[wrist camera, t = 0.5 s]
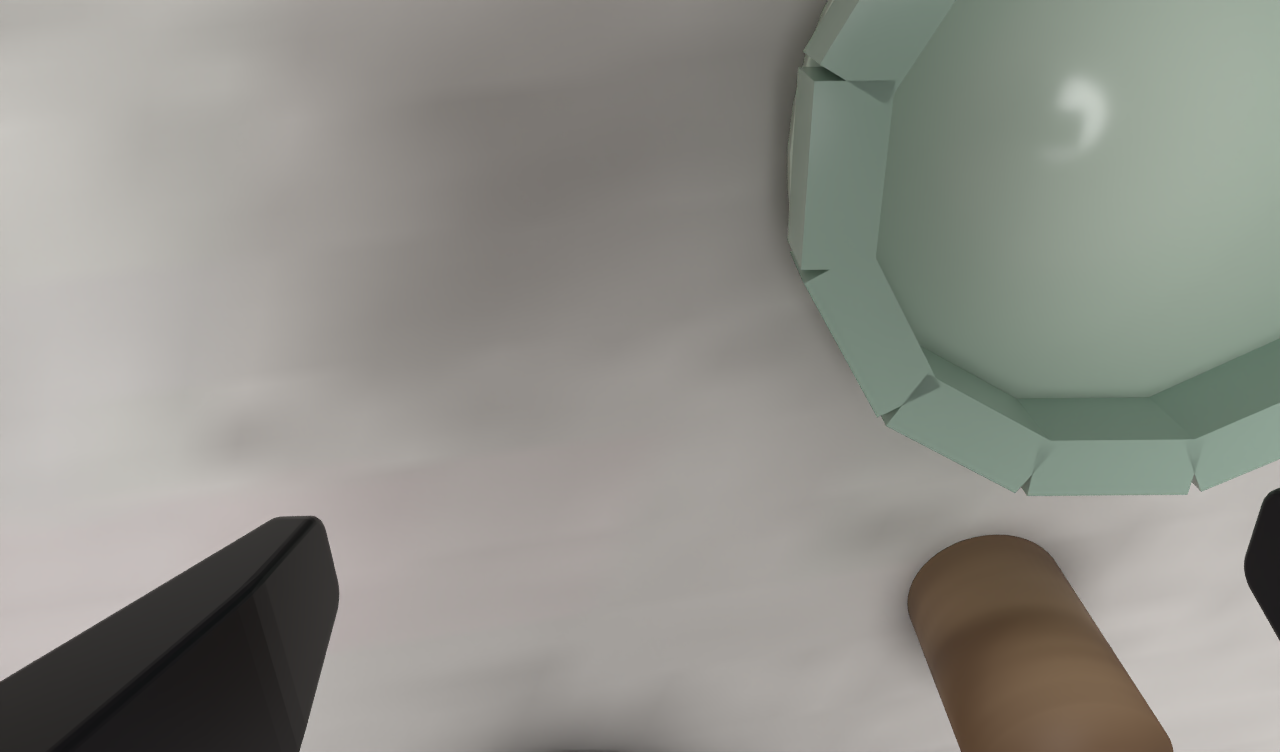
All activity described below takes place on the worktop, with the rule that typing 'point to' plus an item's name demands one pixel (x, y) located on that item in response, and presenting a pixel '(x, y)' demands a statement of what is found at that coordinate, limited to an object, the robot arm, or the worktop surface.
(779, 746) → the worktop surface
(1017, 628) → the brown cylinder
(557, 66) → the worktop surface
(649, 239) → the worktop surface
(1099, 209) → the dish
